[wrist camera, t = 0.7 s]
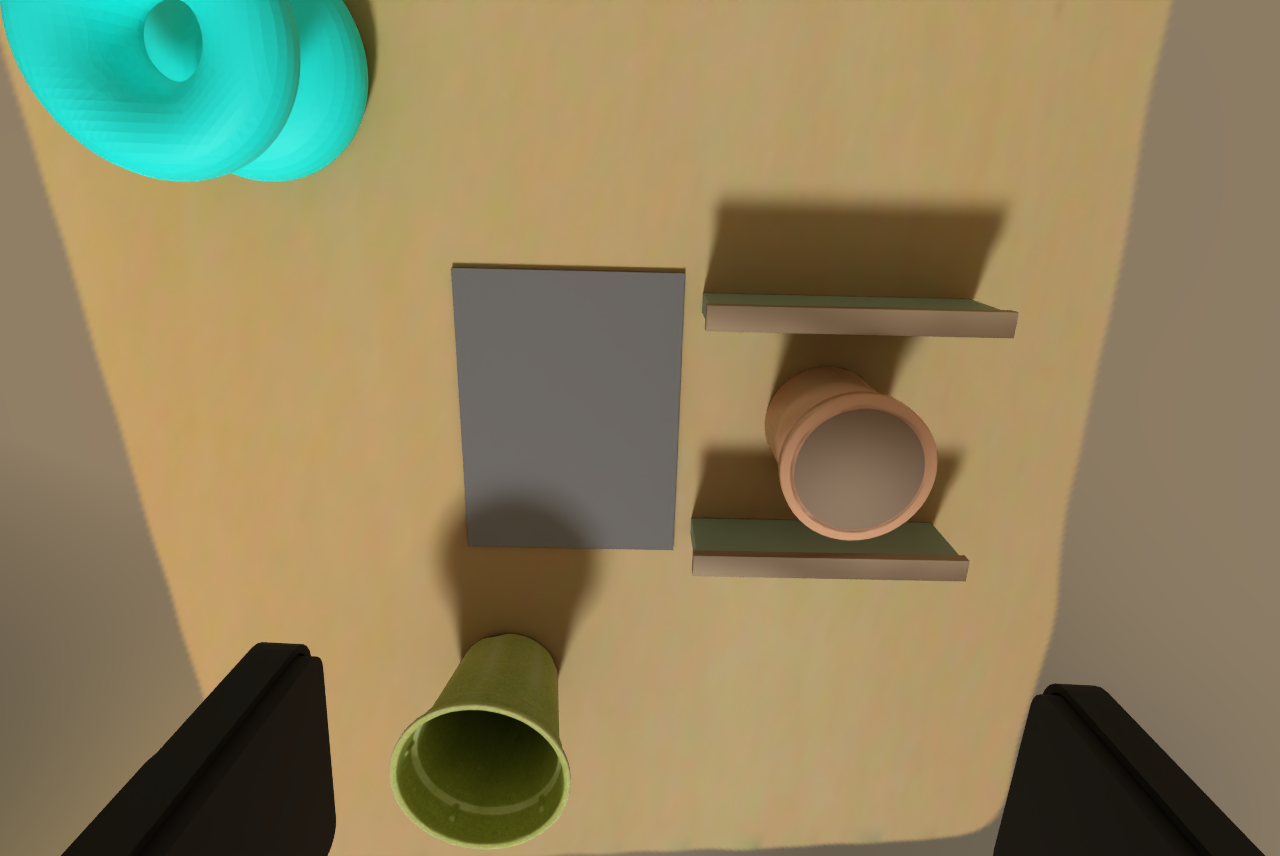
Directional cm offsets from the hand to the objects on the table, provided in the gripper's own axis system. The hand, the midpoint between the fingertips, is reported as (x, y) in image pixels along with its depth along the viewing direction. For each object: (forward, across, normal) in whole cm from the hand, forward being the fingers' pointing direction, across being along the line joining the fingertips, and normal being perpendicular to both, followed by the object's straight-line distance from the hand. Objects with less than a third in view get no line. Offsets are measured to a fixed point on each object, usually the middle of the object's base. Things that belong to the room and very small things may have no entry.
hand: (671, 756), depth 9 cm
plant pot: (+31, +8, +21) cm, 38 cm away
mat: (+30, +4, +4) cm, 31 cm away
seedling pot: (+30, -10, +4) cm, 32 cm away
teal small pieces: (+30, +19, -12) cm, 37 cm away
